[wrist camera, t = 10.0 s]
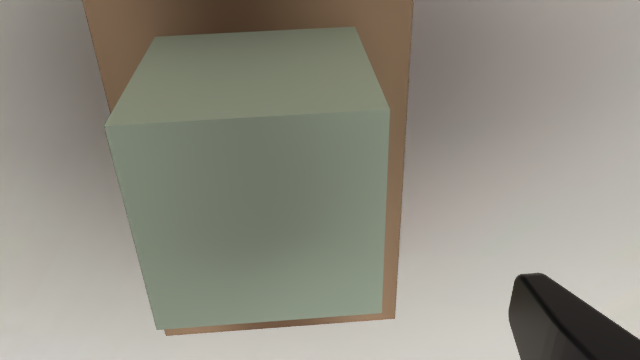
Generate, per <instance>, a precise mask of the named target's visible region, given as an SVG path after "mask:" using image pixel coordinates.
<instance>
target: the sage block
mask: <svg viewBox="0 0 640 360" xmlns="http://www.w3.org/2000/svg"><path fill="white" fill-rule="evenodd" d="M389 123H390V108H389V106H388V103H387V101H386V99H385V96H384V94H383V92H382V89H381V87H380V85H379V82H378V80H377V78H376V75H375V73H374V70H373V68H372V66H371V63H370V61H369V59H368V56H367V54H366V52H365V49H364V47H363V45H362V42H361V40H360V38H359V35H358V33H357V31H356V28H355V26H354V27H335V28H315V29H295V30H275V31H256V32H236V33H216V34H197V35H177V36H157V37H154V39H153V41H152V43H151V44H150V46H149V48H148V50H147V51H146V53H145V55H144V57H143V58H142V60H141V62H140V64H139V65H138V67H137V69H136V71H135V72H134V74H133V76H132V78H131V79H130V81H129V83H128V85H127V86H126V88H125V90H124V92H123V93H122V95H121V97H120V99H119V100H118V102H117V104H116V106H115V107H114V109H113V111H112V113H111V114H110V116H109V118H108V120H107V121H106V123H105V125H104V128H105V132H106V136H107V140H108V144H109V148H110V152H111V155H112V159H113V163H114V167H115V171H116V175H117V179H118V182H119V186H120V190H121V194H122V198H123V202H124V206H125V209H126V213H127V217H128V221H129V225H130V229H131V233H132V236H133V240H134V244H135V248H136V252H137V256H138V260H139V263H140V267H141V271H142V275H143V279H144V283H145V287H146V290H147V294H148V298H149V302H150V306H151V310H152V314H153V317H154V321H155V325H156V329H157V330H163V329H176V328H189V327H203V326H216V325H230V324H243V323H256V322H270V321H283V320H297V319H310V318H323V317H337V316H350V315H364V314H377V313H382V296H383V271H384V247H385V222H386V197H387V172H388V147H389Z"/></svg>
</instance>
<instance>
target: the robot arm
mask: <svg viewBox="0 0 640 360" xmlns="http://www.w3.org/2000/svg"><path fill="white" fill-rule="evenodd" d="M509 322H510V326H511V329H512V332H513V336H514V339H515V342H516V345H517V349H518V352H519V355H520V358H521V360H640V339H638V338H637V337H635V336H634V335H632V334H631V333H629V332H628V331H627V330H625V329H624V328H622V327H621V326H619V325H618V324H616V323H615V322H613V321H612V320H610V319H609V318H608V317H606V316H605V315H603V314H602V313H600V312H599V311H597V310H596V309H594V308H593V307H591V306H590V305H589V304H587V303H586V302H584V301H583V300H581V299H580V298H578V297H577V296H575V295H574V294H572V293H571V292H570V291H568V290H567V289H565V288H564V287H562V286H561V285H559V284H558V283H556V282H555V281H553V280H552V279H551V278H549V277H548V276H546V275H544V274H542V273H531V274H520V275H518V276H517V277H516V279H515V282H514V286H513V291H512V296H511V301H510V306H509Z"/></svg>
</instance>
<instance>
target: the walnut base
mask: <svg viewBox="0 0 640 360" xmlns="http://www.w3.org/2000/svg"><path fill="white" fill-rule="evenodd" d="M82 1H83V5H84V9H85V13H86V17H87V21H88V25H89V29H90V33H91V37H92V41H93V45H94V49H95V53H96V57H97V61H98V65H99V69H100V73H101V77H102V81H103V85H104V89H105V93H106V97H107V101H108V105H109V110H110V114H111V113H112V111H113V109H114V107H115V106H116V104H117V102H118V100H119V99H120V97H121V95H122V93H123V92H124V90H125V88H126V86H127V85H128V83H129V81H130V79H131V78H132V76H133V74H134V72H135V71H136V69H137V67H138V65H139V64H140V62H141V60H142V58H143V57H144V55H145V53H146V51H147V50H148V48H149V46H150V44H151V43H152V41H153V39H154V37H157V36H177V35H197V34H216V33H236V32H256V31H275V30H295V29H315V28H335V27H354V26H355V28H356V31H357V33H358V35H359V38H360V40H361V42H362V45H363V47H364V49H365V52H366V54H367V56H368V59H369V61H370V63H371V66H372V68H373V70H374V73H375V75H376V78H377V80H378V82H379V85H380V87H381V89H382V92H383V94H384V96H385V99H386V101H387V103H388V106H389V108H390V123H389V147H388V172H387V197H386V222H385V247H384V271H383V296H382V313H377V314H364V315H350V316H337V317H323V318H310V319H297V320H283V321H270V322H256V323H243V324H230V325H216V326H203V327H189V328H176V329H164V330H165V334H166V336H170V335H183V334H197V333H210V332H223V331H236V330H250V329H263V328H276V327H290V326H303V325H316V324H329V323H343V322H356V321H369V320H383V319H395V309H396V292H397V274H398V257H399V240H400V222H401V205H402V187H403V170H404V153H405V135H406V118H407V101H408V83H409V66H410V49H411V31H412V14H413V0H82Z"/></svg>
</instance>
